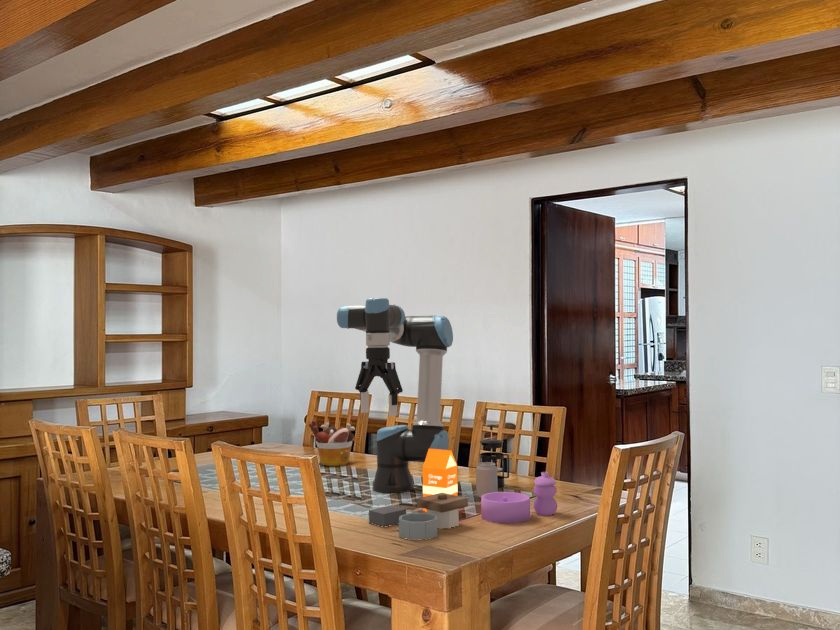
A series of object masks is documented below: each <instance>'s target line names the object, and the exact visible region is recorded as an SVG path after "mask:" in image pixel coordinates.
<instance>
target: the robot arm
mask: <svg viewBox="0 0 840 630" xmlns="http://www.w3.org/2000/svg"><path fill="white" fill-rule="evenodd" d="M336 323H337V325H338V326H339V328H341V329H348V330H349V329H355V330H359V331H363V332H365V346H367V347H366V348H365V359H366V360H368V361H361V365H360V369H359V370H360V371H359V374H358V377H357V381H356V383H355V387H354V388H355V390H357V391H358V392H359V401H360V413H361V414H365V413H369V412H370V398H369V397H370V396H369V395H370V392H369V389H370V388H369V387H370V386H371V384H372V382H373V381H374V378H375V377H379V378H381V379H382V381H383V383H384V385H385V386H386V388H387V390H388V392H389V394H388V417H394V416H398V408H397V407H398V403H399V402H398V401H399V400H398V399H399V394H400V393H403V387H402V384H401V380H400V378H399V375H398V371H397V367H396V362H393V361H392V362H388V360H389V359H390V357H391V354H390V353H391V352H390V351H391V350H390V349H391V348H390V347H389V346H390V345H391V343H392V344H394V345H395V344H396V345H399V346H403V347H408V348H409V347H411V348H412V347H414V348H415V352H416V353H417V354H418V355H419V363H418V365H419V366H418V383H417V384H418V387H417V390H418V391H417V405H416V406H417V407H416V409H417V411H416V420H415V421H414V422H413V423H412V427H411V429H409V426H408V425H407V424H399V425H392V426H386V427H381V428H379V429H378V430H377V433H376V464H377V465H376V472H375V476H374V480H373V481H372V490H373V491H375V492H379V493H385V494H386V493H388V494H391V493H395V494H396V493H405V492H409V491H412V490H414V480H413V479H412V474H411V472H410V468H409V462H413V463H415V462H416V463H424V462H425V459H426V456H427V453H428V450H429V449H440V450H449V443H450V437H449V436H450V435H449V433H448V431H447V430H445V425H444V424H443V423H442V422H441V405H442V404H441V403H442V402H441V401H442V384H443V383H442V381H443V360H444V359H443V358H444V356H445V355H446V354H447V352H448V348H450V347H452V345H453V342H454V333H453V327H452V325H451V321H450V320H449V318H448V317H447V316H445V315H436V314H435V315H407V316H406V313H405V311H404V309H403V308H402V307H401V306H399V305H396V304H390V301H389V299H388V297H368V298H367V299H366V300H365V305H345V306H344V305H343V306H340V307H339V308H338V309H337V312H336Z"/></svg>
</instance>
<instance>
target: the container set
mask: <svg viewBox="0 0 840 630" xmlns="http://www.w3.org/2000/svg"><path fill="white" fill-rule="evenodd" d="M540 474H541V476H538V477H536V478H535V479H534V484H535V486H534V487H533V493H534V495H535V496H536V498H535V500H534V502H533V509H534V511H535V512H536V513H537V515H539V514H540V515H539V516H545V515H547V516H552V514H553V515H554V514H555V513H556V512H557V509H558V502H557V500H556V499H555V498H554V497H555V496H556V494H557V487H556V486H555V485H556V483H557V482H556V479H555V478H554V477H552V476H550V475H549V472H548V471H541V472H540ZM480 500H481V501H480V506H481V508H480V509H481V510H480V511H481V516H480V517H481V519H482V518H483V519H482V520H484V521H486V520H487V522H489V521H491V522H490V523H495V522H498V523H497V524H518V522H520V523H523V521H525V522H527V520H528V521H529V520H531V496H530V495H528V494H526V493H522V492H514V491H498V492H494V493H488V494H484V495H482V496H481V499H480Z"/></svg>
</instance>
